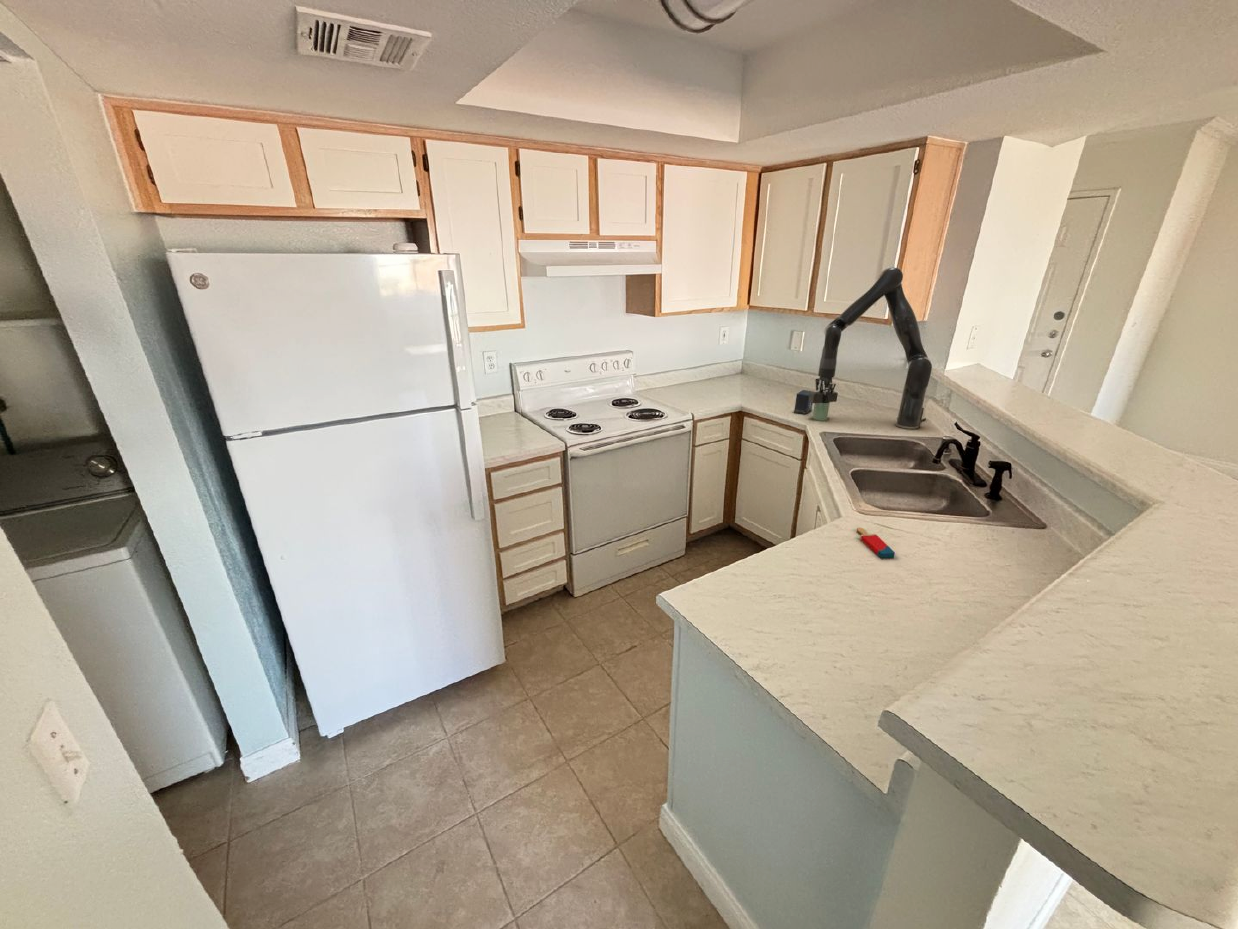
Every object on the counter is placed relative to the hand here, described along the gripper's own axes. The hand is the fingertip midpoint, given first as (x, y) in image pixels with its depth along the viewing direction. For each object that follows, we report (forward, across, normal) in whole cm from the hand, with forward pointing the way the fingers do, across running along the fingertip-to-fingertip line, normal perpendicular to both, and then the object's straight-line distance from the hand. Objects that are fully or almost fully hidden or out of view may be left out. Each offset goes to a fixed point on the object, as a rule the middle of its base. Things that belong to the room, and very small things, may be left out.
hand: (822, 400), depth 250 cm
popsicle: (+9, -112, +55) cm, 125 cm away
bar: (0, 0, 0) cm, 0 cm away
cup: (+9, 0, 0) cm, 9 cm away
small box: (+9, +14, +1) cm, 17 cm away
